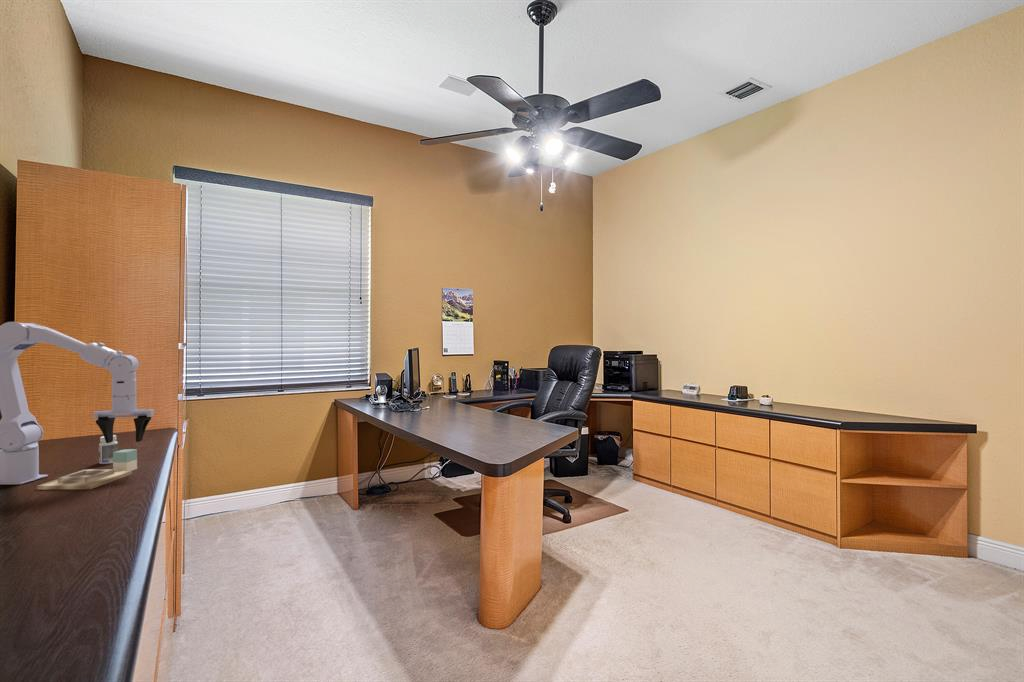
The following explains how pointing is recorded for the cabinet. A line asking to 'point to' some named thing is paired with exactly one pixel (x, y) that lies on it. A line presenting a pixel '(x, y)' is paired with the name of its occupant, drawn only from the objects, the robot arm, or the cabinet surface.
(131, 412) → the robot arm
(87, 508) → the cabinet surface
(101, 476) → the base plate
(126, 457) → the teal and cream block
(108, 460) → the pill bottle
